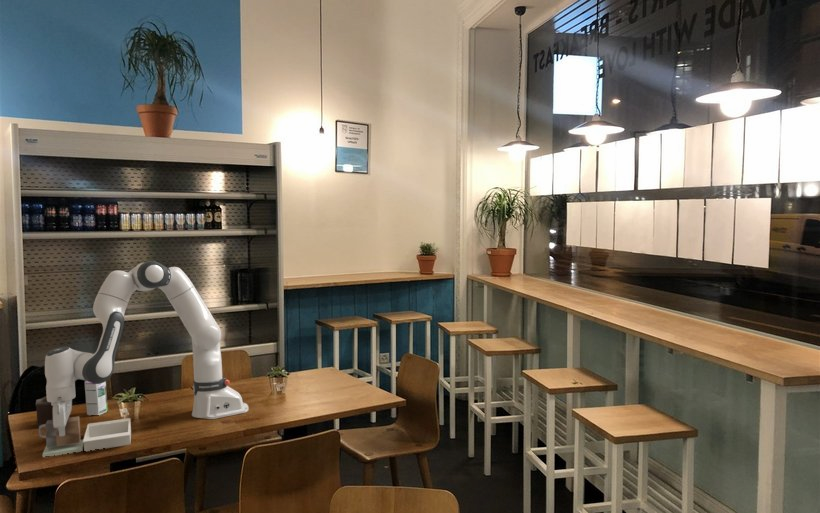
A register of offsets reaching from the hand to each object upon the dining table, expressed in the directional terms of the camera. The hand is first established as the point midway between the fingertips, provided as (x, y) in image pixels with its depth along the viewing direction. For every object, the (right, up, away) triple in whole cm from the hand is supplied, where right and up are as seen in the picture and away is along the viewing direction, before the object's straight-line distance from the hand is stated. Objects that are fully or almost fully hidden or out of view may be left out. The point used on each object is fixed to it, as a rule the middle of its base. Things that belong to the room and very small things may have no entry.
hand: (63, 432), depth 217 cm
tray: (+12, -5, +8) cm, 15 cm away
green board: (0, -6, 0) cm, 6 cm away
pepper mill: (-23, -5, +34) cm, 41 cm away
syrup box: (-9, -4, +42) cm, 43 cm away
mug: (-10, -6, +11) cm, 16 cm away
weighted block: (0, -4, 0) cm, 4 cm away
